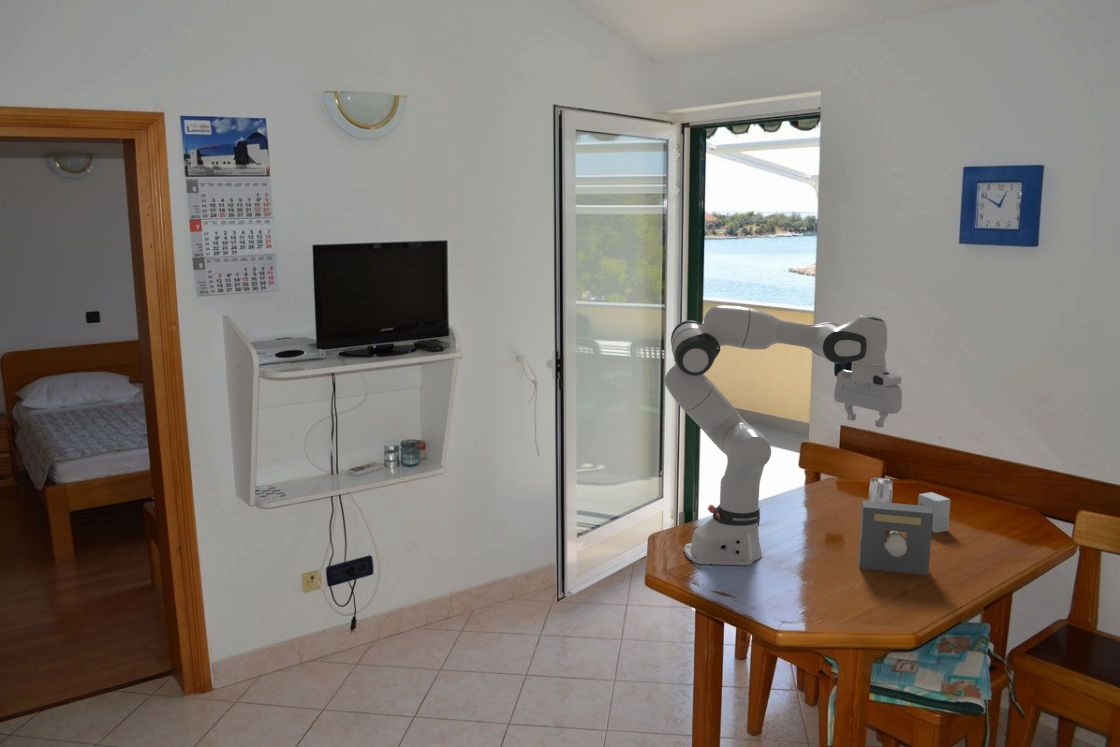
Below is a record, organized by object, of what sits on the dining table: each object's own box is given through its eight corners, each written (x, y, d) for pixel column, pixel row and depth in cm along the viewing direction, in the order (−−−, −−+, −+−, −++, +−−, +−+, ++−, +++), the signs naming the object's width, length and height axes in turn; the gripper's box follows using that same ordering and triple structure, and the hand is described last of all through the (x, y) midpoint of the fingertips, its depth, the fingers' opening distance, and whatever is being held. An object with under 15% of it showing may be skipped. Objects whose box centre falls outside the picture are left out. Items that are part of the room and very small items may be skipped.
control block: (928, 576, 245) (933, 514, 242) (859, 568, 250) (863, 507, 247) (925, 567, 251) (930, 506, 248) (858, 560, 256) (862, 500, 253)
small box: (948, 531, 279) (951, 499, 277) (934, 533, 277) (937, 501, 275) (929, 522, 287) (932, 491, 285) (915, 525, 285) (918, 493, 283)
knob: (906, 557, 242) (907, 540, 241) (886, 555, 243) (887, 538, 242) (902, 543, 252) (904, 526, 251) (884, 541, 253) (885, 524, 252)
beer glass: (891, 530, 280) (894, 484, 277) (868, 529, 281) (871, 483, 278) (888, 523, 286) (891, 478, 284) (865, 521, 288) (868, 476, 285)
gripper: (830, 369, 251) (827, 417, 254) (891, 381, 234) (888, 432, 237) (845, 367, 255) (842, 414, 257) (906, 378, 237) (903, 429, 240)
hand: (865, 423), depth 247 cm, fingers open, 8 cm apart
